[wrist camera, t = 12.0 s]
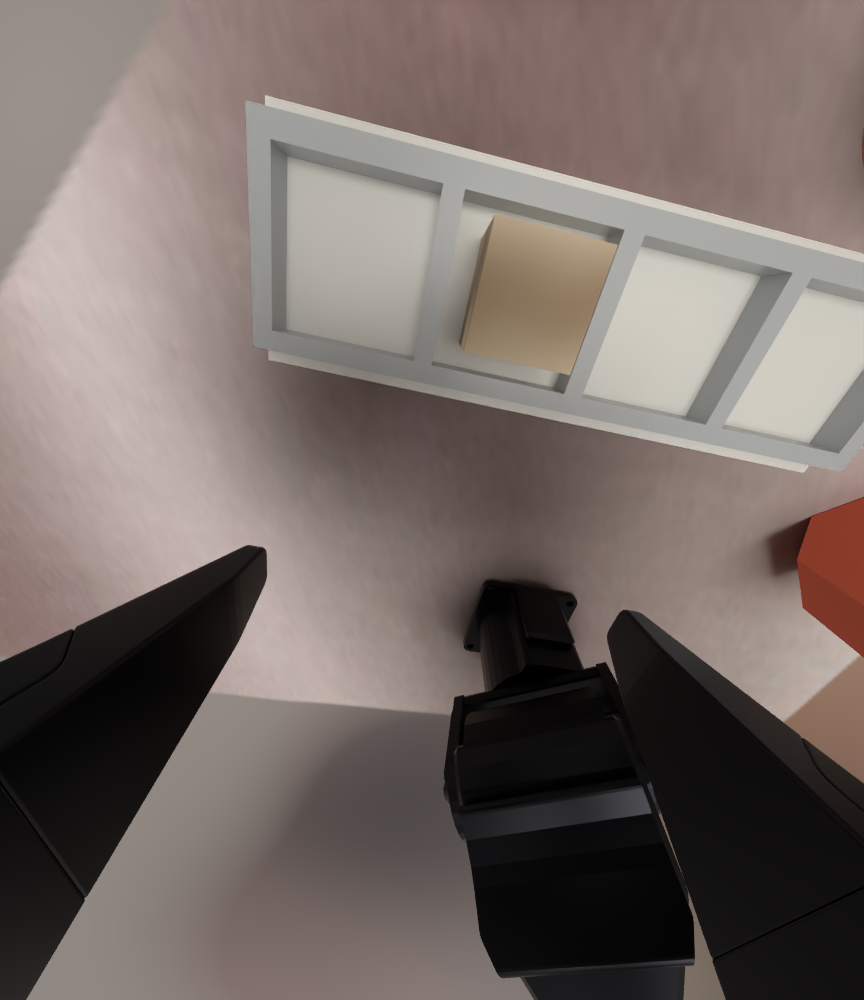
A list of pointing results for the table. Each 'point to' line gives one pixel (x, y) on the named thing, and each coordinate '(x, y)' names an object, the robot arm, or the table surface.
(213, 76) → the table surface
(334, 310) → the board
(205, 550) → the table surface
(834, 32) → the table surface
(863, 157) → the terracotta mug
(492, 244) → the beech block
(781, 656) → the table surface
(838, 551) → the french fries container
